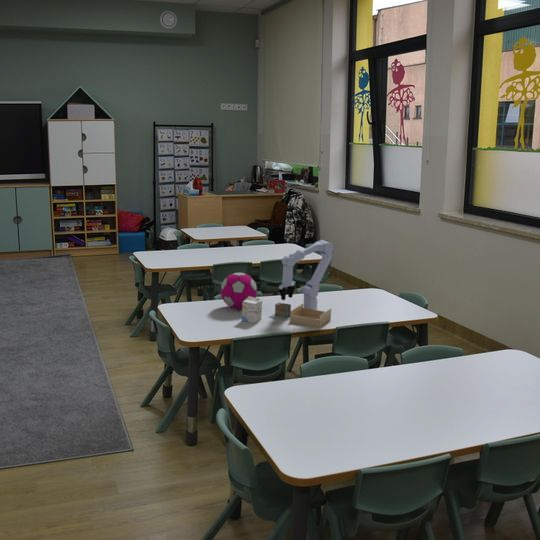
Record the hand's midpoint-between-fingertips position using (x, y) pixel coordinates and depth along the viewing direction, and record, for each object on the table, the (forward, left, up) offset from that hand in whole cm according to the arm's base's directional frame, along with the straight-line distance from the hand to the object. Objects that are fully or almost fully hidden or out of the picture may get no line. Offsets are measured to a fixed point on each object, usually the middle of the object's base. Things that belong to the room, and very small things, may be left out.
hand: (286, 298), depth 400 cm
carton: (+6, +18, -9) cm, 21 cm away
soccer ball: (+4, -30, -10) cm, 32 cm away
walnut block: (+6, 0, -9) cm, 11 cm away
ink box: (+22, -12, -10) cm, 27 cm away
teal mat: (+6, 0, -9) cm, 11 cm away
